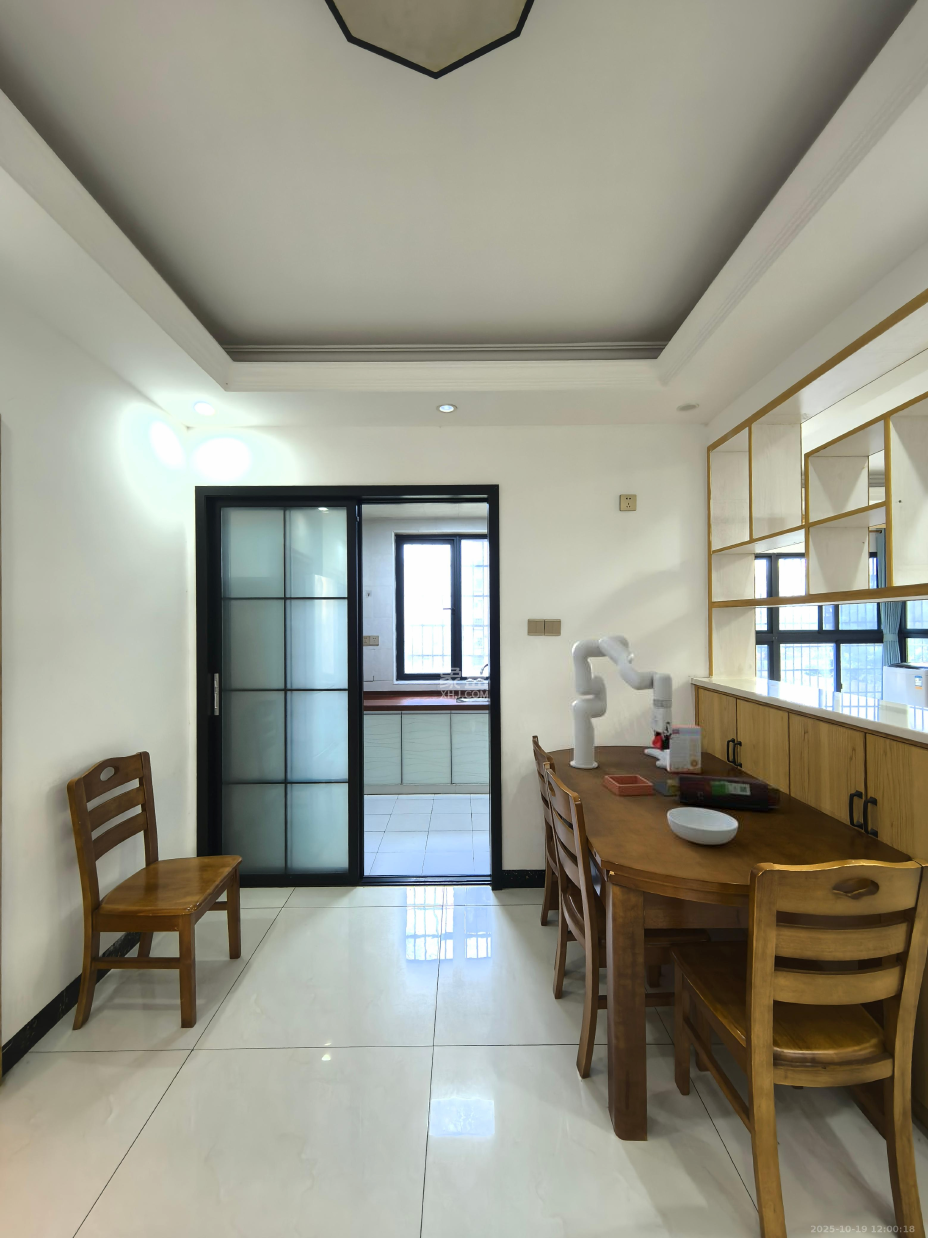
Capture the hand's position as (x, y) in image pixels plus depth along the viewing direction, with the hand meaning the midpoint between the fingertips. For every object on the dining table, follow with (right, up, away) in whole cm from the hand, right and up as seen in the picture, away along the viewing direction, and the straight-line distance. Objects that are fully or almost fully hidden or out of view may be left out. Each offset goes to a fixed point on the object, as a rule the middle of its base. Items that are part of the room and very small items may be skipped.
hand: (661, 747), depth 242 cm
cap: (0, -1, 0) cm, 1 cm away
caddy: (-14, -17, -1) cm, 22 cm away
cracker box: (+19, -17, +28) cm, 38 cm away
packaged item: (+16, -18, -20) cm, 31 cm away
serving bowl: (-6, -18, -55) cm, 58 cm away
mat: (+4, -17, 0) cm, 18 cm away
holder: (+20, -17, +48) cm, 55 cm away
